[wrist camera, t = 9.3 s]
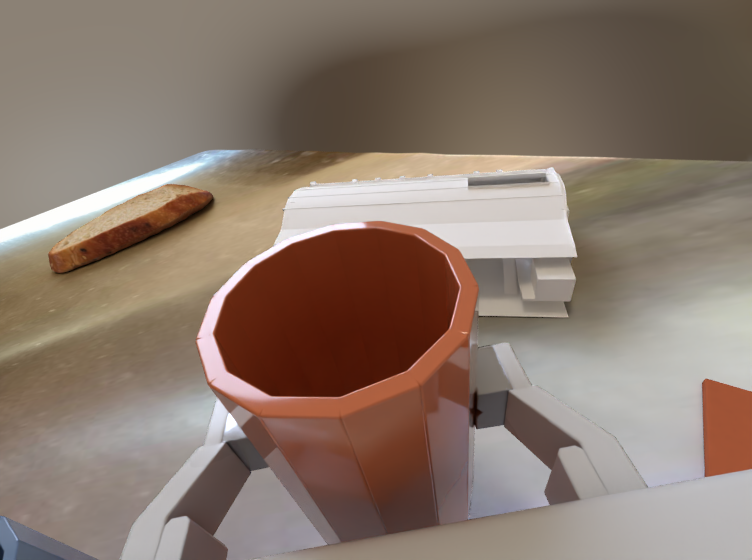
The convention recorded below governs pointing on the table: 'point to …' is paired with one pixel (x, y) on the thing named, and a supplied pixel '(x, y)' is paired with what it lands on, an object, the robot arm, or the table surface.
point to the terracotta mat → (726, 428)
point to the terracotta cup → (354, 374)
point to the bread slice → (127, 225)
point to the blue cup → (33, 544)
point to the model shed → (467, 228)
